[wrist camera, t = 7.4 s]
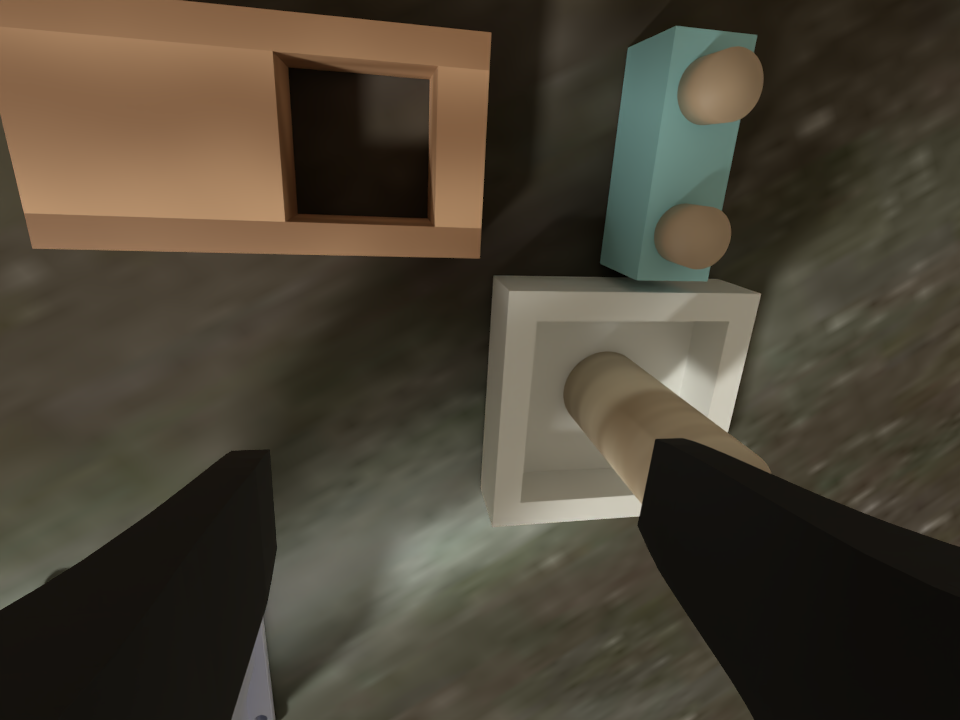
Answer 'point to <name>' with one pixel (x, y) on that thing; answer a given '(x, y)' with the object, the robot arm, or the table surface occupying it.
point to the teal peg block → (677, 152)
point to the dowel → (638, 417)
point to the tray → (566, 342)
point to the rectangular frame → (219, 126)
